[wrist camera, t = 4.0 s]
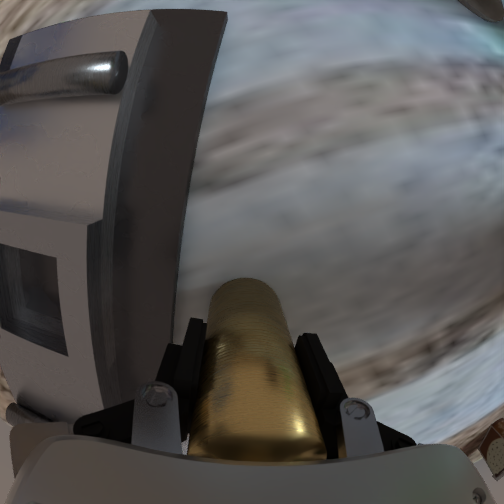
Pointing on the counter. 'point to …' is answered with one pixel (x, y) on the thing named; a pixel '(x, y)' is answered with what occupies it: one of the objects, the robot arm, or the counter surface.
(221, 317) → the brass pin
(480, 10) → the mate gourd
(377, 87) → the counter surface
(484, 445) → the food container
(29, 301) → the gray slotted panel
